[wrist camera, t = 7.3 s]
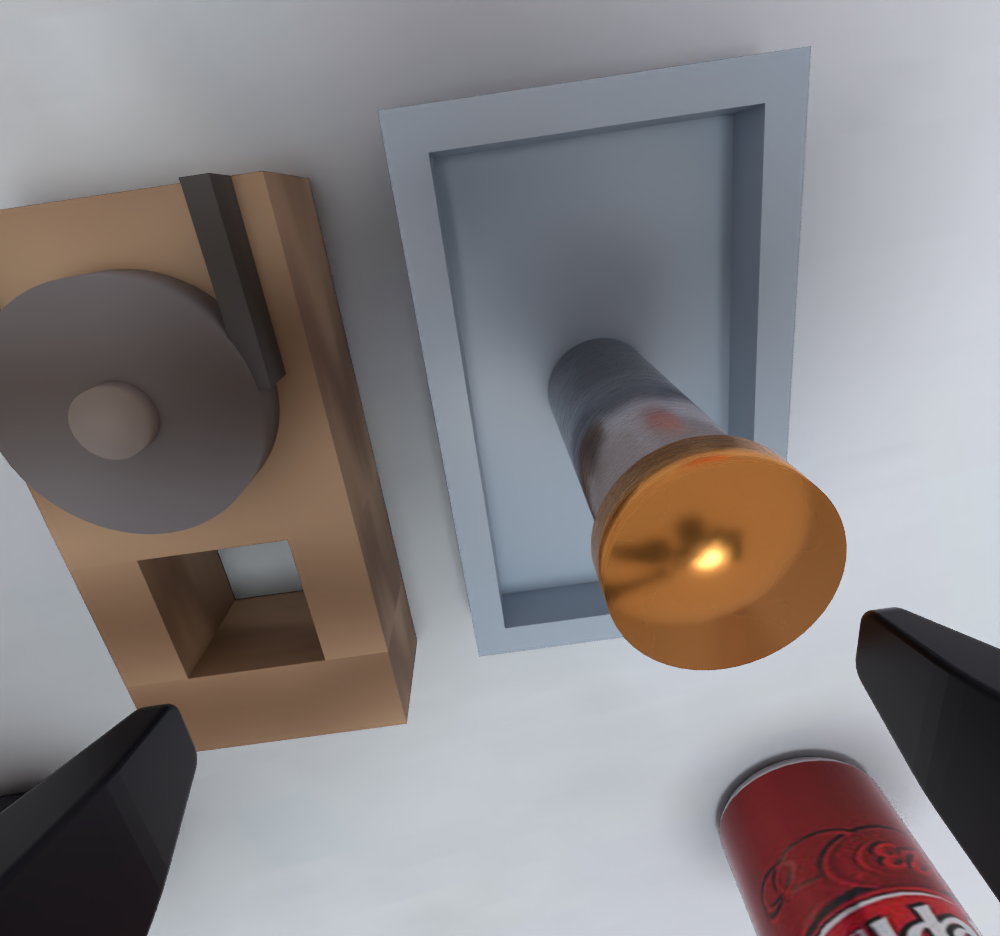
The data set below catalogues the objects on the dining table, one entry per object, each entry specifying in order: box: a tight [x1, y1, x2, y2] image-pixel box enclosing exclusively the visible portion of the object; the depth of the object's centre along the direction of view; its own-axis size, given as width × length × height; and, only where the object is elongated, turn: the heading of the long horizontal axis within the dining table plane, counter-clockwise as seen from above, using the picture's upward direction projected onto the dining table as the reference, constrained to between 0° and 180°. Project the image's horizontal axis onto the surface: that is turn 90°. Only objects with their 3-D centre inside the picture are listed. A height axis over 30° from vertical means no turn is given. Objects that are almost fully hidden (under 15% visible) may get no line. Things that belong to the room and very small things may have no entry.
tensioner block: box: [0, 171, 417, 752], centre depth 17 cm, size 16×8×6 cm, turn 8°
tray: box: [378, 46, 811, 657], centre depth 18 cm, size 16×10×2 cm, turn 8°
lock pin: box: [548, 338, 847, 670], centre depth 14 cm, size 4×4×10 cm
